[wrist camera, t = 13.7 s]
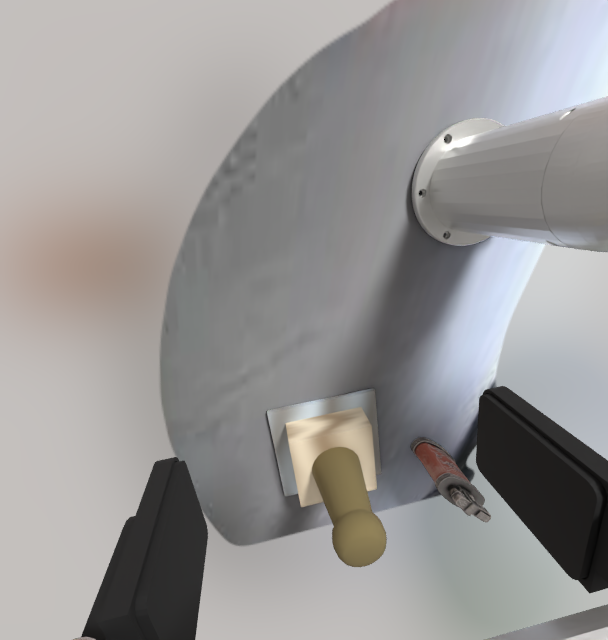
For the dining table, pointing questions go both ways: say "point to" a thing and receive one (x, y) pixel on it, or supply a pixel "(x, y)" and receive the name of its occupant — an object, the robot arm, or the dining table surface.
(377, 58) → the dining table surface
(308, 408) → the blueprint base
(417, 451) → the lighter
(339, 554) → the olive brown knobbed peg
